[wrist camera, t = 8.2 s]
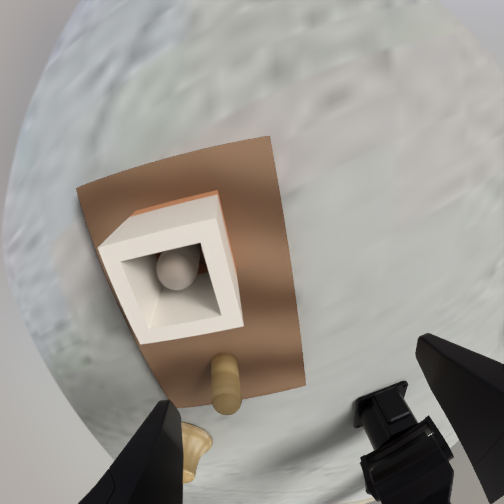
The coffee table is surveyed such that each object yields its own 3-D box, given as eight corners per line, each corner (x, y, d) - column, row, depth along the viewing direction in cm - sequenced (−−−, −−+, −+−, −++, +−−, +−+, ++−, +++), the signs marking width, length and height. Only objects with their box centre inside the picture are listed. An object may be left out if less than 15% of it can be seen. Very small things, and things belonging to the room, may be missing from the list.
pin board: (302, 373, 24) (320, 429, 18) (175, 396, 24) (170, 452, 18) (265, 136, 17) (290, 135, 11) (85, 184, 16) (32, 208, 10)
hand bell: (146, 449, 28) (137, 556, 13) (136, 415, 25) (118, 548, 10) (211, 455, 29) (217, 564, 15) (214, 423, 26) (222, 560, 12)
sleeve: (236, 268, 18) (243, 326, 12) (160, 284, 18) (140, 344, 12) (217, 189, 16) (216, 217, 11) (135, 210, 16) (97, 248, 10)
